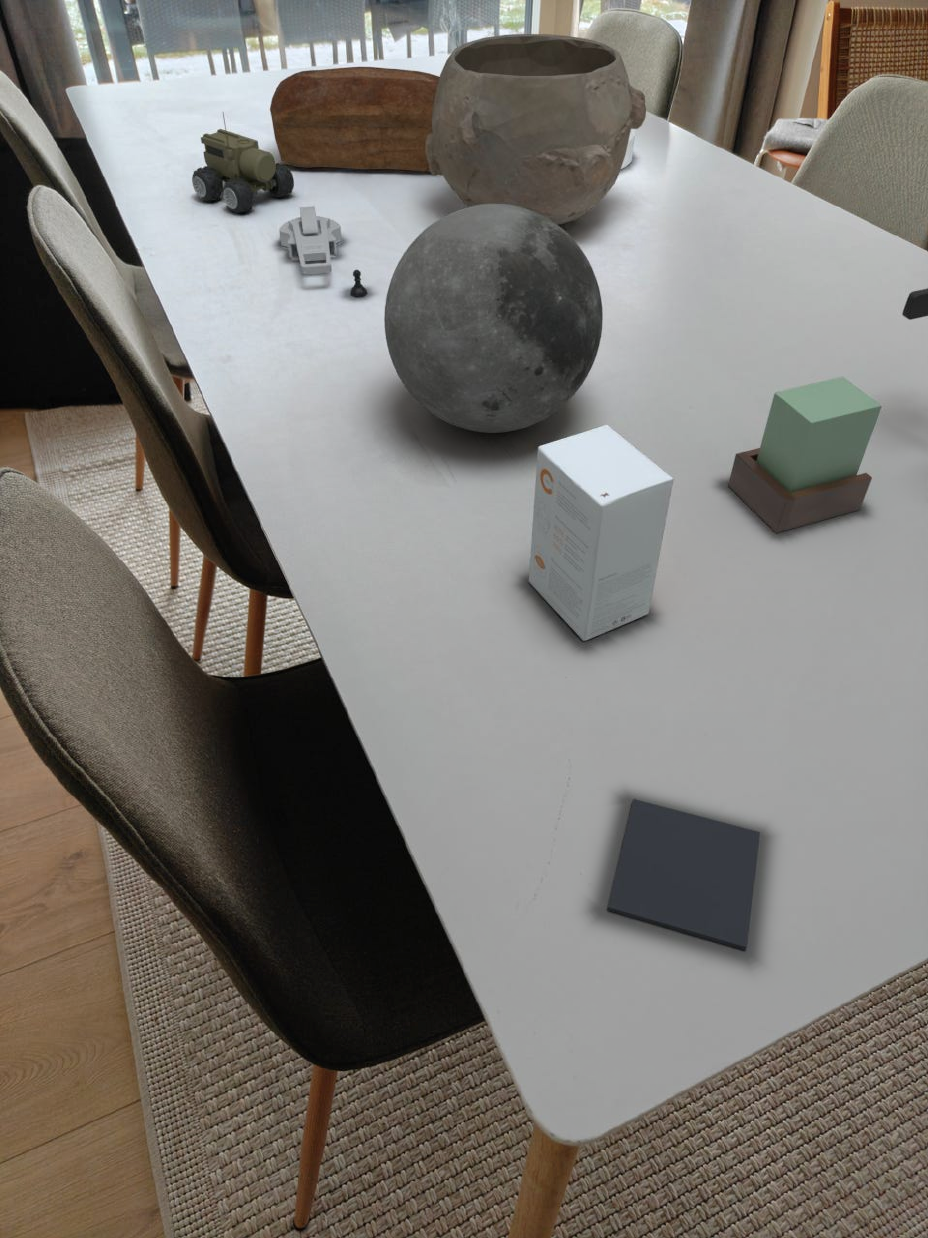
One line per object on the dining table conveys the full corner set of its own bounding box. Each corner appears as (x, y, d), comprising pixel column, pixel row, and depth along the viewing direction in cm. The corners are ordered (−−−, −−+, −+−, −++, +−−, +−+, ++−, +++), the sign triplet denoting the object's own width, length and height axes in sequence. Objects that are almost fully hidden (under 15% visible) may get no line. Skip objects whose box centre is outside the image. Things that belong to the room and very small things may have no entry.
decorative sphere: (581, 365, 100) (601, 170, 86) (601, 475, 86) (629, 262, 72) (395, 365, 100) (385, 169, 86) (384, 474, 86) (369, 261, 72)
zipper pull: (286, 293, 112) (281, 258, 109) (280, 234, 125) (275, 201, 122) (351, 288, 113) (348, 253, 110) (339, 230, 126) (336, 197, 123)
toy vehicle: (248, 178, 139) (234, 89, 131) (299, 196, 134) (289, 105, 126) (192, 199, 133) (174, 107, 125) (243, 218, 128) (228, 124, 120)
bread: (456, 179, 139) (455, 88, 131) (270, 173, 141) (258, 83, 132) (463, 148, 149) (463, 61, 141) (289, 143, 151) (279, 56, 142)
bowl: (390, 238, 124) (381, 68, 110) (478, 169, 142) (480, 16, 128) (583, 276, 116) (600, 98, 102) (650, 197, 134) (673, 37, 120)
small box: (650, 615, 73) (677, 478, 64) (583, 644, 70) (601, 506, 61) (590, 556, 78) (607, 421, 69) (525, 581, 75) (535, 445, 66)
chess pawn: (346, 295, 112) (344, 270, 110) (355, 288, 113) (353, 264, 111) (361, 298, 111) (359, 274, 109) (369, 291, 113) (368, 267, 111)
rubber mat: (758, 835, 59) (759, 831, 58) (745, 950, 53) (746, 947, 53) (632, 802, 60) (633, 798, 60) (607, 910, 55) (607, 907, 55)
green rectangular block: (812, 472, 86) (843, 375, 79) (846, 503, 83) (882, 405, 76) (748, 489, 84) (774, 391, 77) (781, 521, 81) (811, 422, 74)
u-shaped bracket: (808, 464, 87) (818, 432, 85) (860, 509, 82) (872, 477, 80) (727, 485, 85) (735, 453, 82) (776, 533, 80) (786, 500, 78)
